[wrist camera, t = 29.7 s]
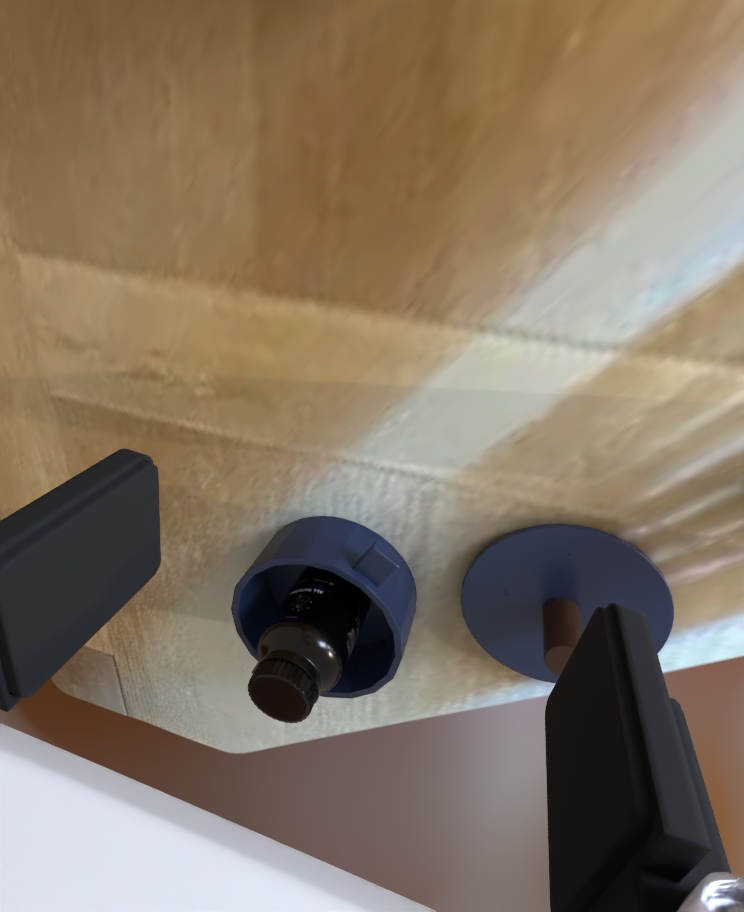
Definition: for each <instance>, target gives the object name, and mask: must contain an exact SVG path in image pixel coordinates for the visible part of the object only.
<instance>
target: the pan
mask: <svg viewBox="0 0 744 912" xmlns="http://www.w3.org/2000/svg"><path fill="white" fill-rule="evenodd" d="M307 566H312V567H316V568H319V569H323V570H327V571H331V572H333V573H335V574H336V575H338V576H340V577H342V578H343V579H345V580H347V581H349V582H350V583H352V584H354V585H356V586H357V587H359V588H360V589H361V590H362V591H363V592H364V593H365V594H366V595H367V596H368V597H369V598H370V599H371V606H370V609H369V611H368V614H367V616H366V619H365V621H364V624H363V626H362V628H361V631H360V633H359V636H358V638H357V640H356V643H355V645H354V647H353V650H352V652H351V655H350V657H349V659H348V662H347V664H346V667H345V669H344V671H343V674H342V676H341V678H340V680H339V681H338V683H337V684H336V685H335V686H334V687H333V688H331V689H330V690H328V691H326V692H324V693H322V694H320V696H323V697H336V698H355V697H359V696H363V695H367V694H370V693H374V692H376V691H377V690H379V689H380V688H381V687H383V686H384V685H385V684H386V683H388V682H389V681H390V680H392V679H393V678H394V676H395V673H396V671H397V669H398V667H399V664H400V662H401V660H402V657H403V654H404V650H405V647H406V643H407V640H408V636H409V633H410V629H411V626H412V622H413V618H414V615H415V611H416V598H417V597H416V587H415V583H414V579H413V577H412V574H411V572H410V570H409V568H408V566H407V564H406V562H405V561H404V560H403V558H402V557H401V555H400V554H399V553H398V552H397V551H396V550H395V549H394V547H393V546H392V545H391V544H389V543H388V542H387V541H386V540H385V539H384V538H382V537H381V536H379V535H378V534H376V533H375V532H373V531H372V530H370V529H368V528H366V527H364V526H362V525H360V524H357V523H355V522H352V521H348V520H345V519H341V518H335V517H325V516H319V517H309V518H304V519H300V520H297V521H294V522H292V523H290V524H288V525H287V526H285V527H284V528H282V529H281V530H280V531H278V532H277V533H276V535H275V536H274V537H273V538H272V540H271V541H270V542H269V543H268V545H267V546H266V547H265V549H264V550H263V551H262V552H261V554H260V555H259V556H258V558H257V559H256V560H255V562H254V563H253V564H252V565H251V567H250V568H249V569H248V571H247V572H246V573H245V575H244V576H243V577H242V578H241V580H240V581H239V582H238V584H237V585H236V586H235V590H234V596H233V602H232V607H231V610H232V614H233V618H234V622H235V627H236V631H237V633H238V635H239V636H240V638H241V639H242V641H243V643H244V644H245V646H246V647H247V649H248V650H249V652H250V654H251V655H252V656H253V657H254V658H255V659H257V660H258V661H259V662H260V658H259V651H258V647H259V641H260V638H261V635H262V634H263V632H264V630H265V628H266V627H267V625H268V624H269V622H270V621H271V619H272V618H273V616H274V614H275V613H276V611H277V610H278V608H279V607H280V605H281V604H282V602H283V600H284V599H285V597H286V596H287V594H288V593H289V591H290V589H291V588H292V586H293V585H294V583H295V582H296V580H297V579H298V577H299V576H300V574H301V573H302V571H303V570H304V569H305V568H306V567H307ZM259 662H258V663H257V664H256V666H255V668H254V669H253V671H252V673H253V674H254V672H255V670H256V667H257V665H258V664H259Z"/></svg>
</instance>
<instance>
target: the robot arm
mask: <svg viewBox="0 0 744 912" xmlns="http://www.w3.org/2000/svg"><path fill="white" fill-rule="evenodd" d="M160 561H161V552H160V517H159V483H158V468H157V466H155V465H154V464H153V461H152V459H151V457H149V456H148V455H144V454H141V453H138V452H135V451H132V450H129V449H120V450H118V451H116V452H115V453H113V454H111V455H110V456H108V457H106V458H105V459H103V460H101V461H100V462H98V463H96V464H95V465H93V466H91V467H90V468H88V469H86V470H85V471H83V472H81V473H80V474H78V475H76V476H75V477H73V478H71V479H70V480H68V481H66V482H65V483H63V484H61V485H60V486H58V487H56V488H55V489H53V490H51V491H50V492H48V493H46V494H45V495H43V496H41V497H40V498H38V499H36V500H35V501H33V502H31V503H30V504H28V505H26V506H25V507H23V508H21V509H20V510H18V511H16V512H15V513H13V514H11V515H10V516H8V517H6V518H5V519H3V520H1V521H0V709H1V710H4V711H6V712H8V711H9V710H10V709H11V708H12V707H13V706H14V705H15V704H16V703H17V702H18V701H20V699H22V697H23V698H27V697H30V696H31V695H33V694H34V693H35V692H37V691H38V690H39V689H40V688H41V687H42V686H43V685H44V684H45V683H46V682H47V681H48V680H49V679H50V678H51V677H52V676H53V675H54V674H55V673H56V672H57V671H58V670H59V669H60V668H61V667H62V666H63V665H64V664H65V663H66V662H67V661H68V660H69V659H70V658H71V657H72V656H73V655H74V654H75V653H76V652H77V651H78V650H79V649H80V648H81V647H82V646H83V645H84V644H85V643H86V642H87V641H88V640H89V639H90V638H91V637H92V636H93V635H94V634H95V633H96V632H98V631H99V630H100V629H101V628H102V627H103V626H104V625H105V624H106V623H107V622H108V621H109V620H110V619H111V618H112V617H113V616H114V615H115V614H116V613H117V612H118V611H119V610H120V609H121V608H122V607H123V606H124V605H125V604H126V603H127V602H128V601H129V600H130V599H131V598H132V597H133V596H134V595H135V594H136V593H137V592H138V591H139V590H140V589H141V588H142V587H143V586H144V585H145V584H146V583H147V582H148V581H149V580H150V579H151V578H152V577H153V576H154V575H155V574H156V572H157V570H158V568H159V566H160ZM545 727H546V728H545V730H546V766H547V802H548V804H547V805H548V842H549V874H550V875H549V877H550V907H551V912H744V877H741V876H738V875H735V874H731V870H730V867H729V864H728V861H727V857H726V854H725V850H724V847H723V844H722V841H721V837H720V834H719V830H718V827H717V824H716V820H715V817H714V814H713V810H712V807H711V804H710V800H709V797H708V794H707V791H706V787H705V783H704V780H703V777H702V774H701V770H700V767H699V763H698V760H697V757H696V753H695V750H694V747H693V744H692V740H691V737H690V733H689V730H688V727H687V724H686V720H685V717H684V713H683V711H682V709H681V706H680V704H679V703H678V702H677V701H676V700H675V699H673V698H670V697H669V695H668V691H667V688H666V684H665V680H664V677H663V673H662V670H661V666H660V662H659V659H658V655H657V652H656V648H655V645H654V641H653V637H652V634H651V630H650V627H649V623H648V619H647V617H646V615H645V614H644V613H643V612H641V611H638V610H634V609H631V608H628V607H625V606H622V605H619V604H615V603H610V604H609V605H608V606H607V607H606V609H605V608H602V607H597V608H596V610H595V611H594V613H593V615H592V617H591V618H590V620H589V622H588V624H587V626H586V628H585V630H584V632H583V633H582V635H581V637H580V639H579V641H578V643H577V645H576V647H575V649H574V650H573V652H572V654H571V656H570V658H569V660H568V662H567V664H566V665H565V667H564V669H563V671H562V673H561V675H560V677H559V679H558V680H557V682H556V684H555V686H554V688H553V690H552V692H551V694H550V696H549V698H548V701H547V705H546V711H545ZM0 912H437V911H435V910H432V909H430V908H428V907H426V906H423V905H421V904H419V903H417V902H414V901H412V900H410V899H408V898H405V897H403V896H401V895H398V894H396V893H394V892H392V891H389V890H387V889H385V888H382V887H380V886H378V885H376V884H373V883H371V882H368V881H366V880H364V879H362V878H360V877H357V876H355V875H353V874H350V873H348V872H346V871H344V870H341V869H339V868H337V867H334V866H332V865H329V864H327V863H325V862H323V861H321V860H318V859H316V858H314V857H311V856H309V855H307V854H305V853H302V852H300V851H298V850H295V849H293V848H291V847H288V846H286V845H284V844H282V843H279V842H277V841H275V840H272V839H270V838H268V837H265V836H263V835H261V834H259V833H256V832H254V831H252V830H249V829H247V828H245V827H242V826H240V825H237V824H235V823H233V822H231V821H228V820H226V819H224V818H221V817H219V816H217V815H215V814H212V813H210V812H208V811H205V810H203V809H201V808H198V807H196V806H194V805H191V804H189V803H186V802H184V801H182V800H180V799H177V798H175V797H173V796H170V795H167V794H166V793H163V792H161V791H159V790H156V789H154V788H151V787H149V786H147V785H145V784H142V783H140V782H138V781H135V780H133V779H131V778H128V777H126V776H124V775H121V774H119V773H117V772H114V771H112V770H110V769H107V768H105V767H102V766H100V765H98V764H96V763H93V762H91V761H89V760H86V759H84V758H81V757H79V756H76V755H74V754H72V753H70V752H67V751H65V750H63V749H60V748H58V747H55V746H53V745H50V744H48V743H46V742H44V741H41V740H39V739H37V738H34V737H32V736H29V735H27V734H25V733H22V732H20V731H18V730H15V729H13V728H11V727H8V726H6V725H4V724H1V723H0Z"/></svg>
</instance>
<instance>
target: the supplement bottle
mask: <svg viewBox="0 0 744 912" xmlns="http://www.w3.org/2000/svg"><path fill="white" fill-rule="evenodd" d="M370 606H371V599H370V598H369V597H368V596H367V595H366V594H365V593H364V592H363V591H362V590H361V589H360V588H359V587H357V586H356V585H354V584H352V583H350V582H349V581H347V580H345V579H343V578H342V577H340V576H338V575H336V574H335V573H333V572H331V571H327V570H323V569H319V568H316V567H312V566H307V567H306V568H305V569H304V570H303V571H302V573H301V574H300V576H299V577H298V579H297V580H296V582H295V583H294V585H293V586H292V588H291V589H290V591H289V593H288V594H287V596H286V597H285V599H284V600H283V602H282V604H281V605H280V607H279V608H278V610H277V611H276V613H275V614H274V616H273V618H272V619H271V621H270V622H269V624H268V625H267V627H266V628H265V630H264V632H263V634H262V635H261V638H260V641H259V647H258V651H259V658H260V662H259V664H258V665H257V667H256V670H255V672H254V674H253V675H252V677H251V679H250V681H249V684H248V692H249V696H250V697H251V700H252V701H253V702H254V704H255V705H256V706H257V707H258V709H260V710H261V711H262V712H263V713H265V714H267V715H268V716H269V717H272V718H273V719H276V720H279V721H283V722H286V723H288V722H289V723H298V722H301V721H302V720H304V719H306V718H307V716H308V715H309V714H310V712H311V710H312V707H313V705H314V704H315V703H316V701H317V700H318V697H319V695H320V694H322V693H324V692H326V691H328V690H330V689H331V688H333V687H334V686H335V685H336V684H337V683H338V681H339V680H340V678H341V676H342V674H343V671H344V669H345V667H346V664H347V662H348V659H349V657H350V655H351V652H352V650H353V647H354V645H355V643H356V640H357V638H358V636H359V633H360V631H361V628H362V626H363V624H364V621H365V619H366V616H367V614H368V611H369V609H370Z"/></svg>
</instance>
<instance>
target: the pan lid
mask: <svg viewBox="0 0 744 912" xmlns="http://www.w3.org/2000/svg"><path fill="white" fill-rule="evenodd" d="M610 603H615V604H619V605H622V606H625V607H628V608H631V609H634V610H638V611H641V612H643V613H644V614H645V615H646V617H647V619H648V623H649V627H650V630H651V634H652V637H653V641H654V645H655V648H656V652H657V653H658V652H659V651H660V650H661V649H662V647H663V646H664V644H665V642H666V641H667V639H668V637H669V634H670V632H671V629H672V624H673V619H674V606H673V601H672V596H671V593H670V591H669V588H668V585H667V583H666V581H665V579H664V577H663V576H662V574H661V572H660V571H659V570H658V568H657V567H656V566H655V565H654V563H653V562H652V561H651V560H650V559H649V558H648V557H647V556H645V555H644V554H643V553H642V552H641V551H639V550H638V549H637V548H635V547H634V546H632V545H631V544H629V543H627V542H626V541H624V540H622V539H620V538H618V537H616V536H613V535H611V534H608V533H606V532H603V531H600V530H596V529H592V528H588V527H582V526H576V525H564V524H554V525H541V526H534V527H529V528H525V529H522V530H518V531H515V532H513V533H510V534H508V535H505V536H504V537H502V538H500V539H498V540H496V541H495V542H493V543H492V544H491V545H489V546H488V547H486V548H485V549H484V550H483V551H482V552H481V553H480V554H479V555H478V556H477V557H476V559H475V560H474V561H473V563H472V564H471V565H470V567H469V569H468V571H467V573H466V576H465V579H464V582H463V587H462V594H461V604H462V611H463V616H464V618H465V621H466V624H467V626H468V628H469V630H470V632H471V633H472V635H473V636H474V638H475V639H476V641H477V642H478V643H479V644H480V645H481V646H482V648H483V649H484V650H485V651H486V652H488V653H489V654H490V655H491V656H492V657H493V658H495V659H496V660H498V661H499V662H500V663H502V664H503V665H505V666H507V667H509V668H510V669H512V670H514V671H516V672H519V673H521V674H523V675H526V676H529V677H532V678H535V679H538V680H542V681H546V682H551V683H556V682H557V680H558V679H559V677H560V675H561V673H562V671H563V669H564V667H565V665H566V664H567V662H568V660H569V658H570V656H571V654H572V652H573V650H574V649H575V647H576V645H577V643H578V641H579V639H580V637H581V635H582V633H583V632H584V630H585V628H586V626H587V624H588V622H589V620H590V618H591V617H592V615H593V613H594V611H595V610H596V608H597V607H602V608H605V609H606V607H607V606H608V605H609V604H610Z"/></svg>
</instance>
